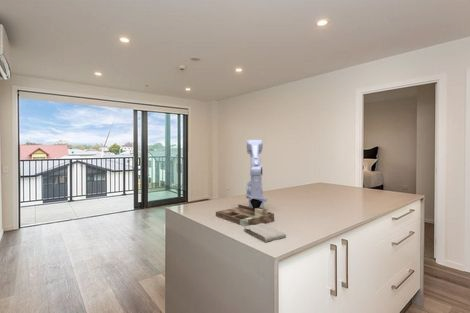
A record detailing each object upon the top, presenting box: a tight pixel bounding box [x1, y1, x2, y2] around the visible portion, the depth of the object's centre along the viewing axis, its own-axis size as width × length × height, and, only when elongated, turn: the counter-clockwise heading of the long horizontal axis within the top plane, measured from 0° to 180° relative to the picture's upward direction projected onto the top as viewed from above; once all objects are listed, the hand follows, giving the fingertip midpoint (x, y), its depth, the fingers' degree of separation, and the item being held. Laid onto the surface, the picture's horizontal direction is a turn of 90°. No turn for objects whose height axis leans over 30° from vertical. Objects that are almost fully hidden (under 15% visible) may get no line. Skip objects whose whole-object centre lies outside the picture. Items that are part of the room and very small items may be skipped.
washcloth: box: [243, 223, 287, 243], centre depth 111 cm, size 12×18×3 cm, turn 31°
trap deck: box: [215, 204, 275, 227], centre depth 136 cm, size 18×28×4 cm, turn 40°
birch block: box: [255, 207, 269, 217], centre depth 132 cm, size 5×5×4 cm
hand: (256, 213), depth 135 cm, fingers closed
